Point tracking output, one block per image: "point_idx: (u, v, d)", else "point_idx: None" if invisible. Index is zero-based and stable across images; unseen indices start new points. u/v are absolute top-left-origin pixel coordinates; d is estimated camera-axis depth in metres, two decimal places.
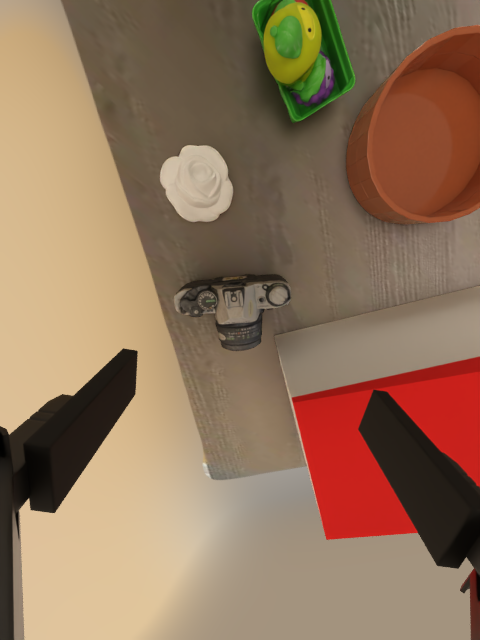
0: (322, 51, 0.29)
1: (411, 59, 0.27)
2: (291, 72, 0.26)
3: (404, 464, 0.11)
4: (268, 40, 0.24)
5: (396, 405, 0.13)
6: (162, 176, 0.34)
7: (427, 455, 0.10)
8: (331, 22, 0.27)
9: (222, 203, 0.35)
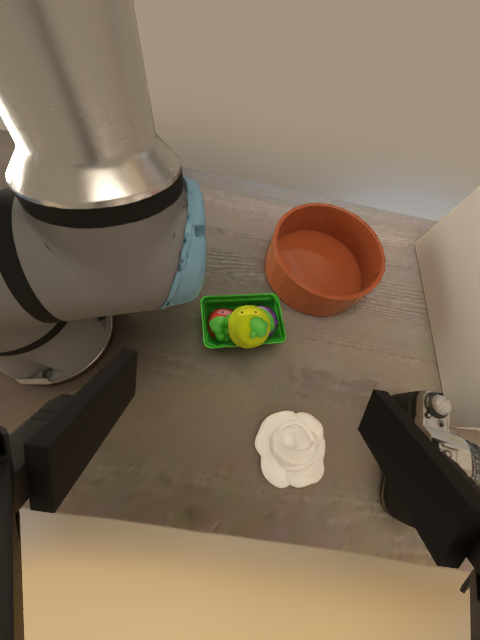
0: None
1: (280, 259, 0.39)
2: (269, 332, 0.32)
3: (404, 464, 0.11)
4: (252, 341, 0.30)
5: (396, 405, 0.13)
6: (276, 483, 0.32)
7: (427, 455, 0.10)
8: (234, 298, 0.38)
9: (316, 429, 0.35)
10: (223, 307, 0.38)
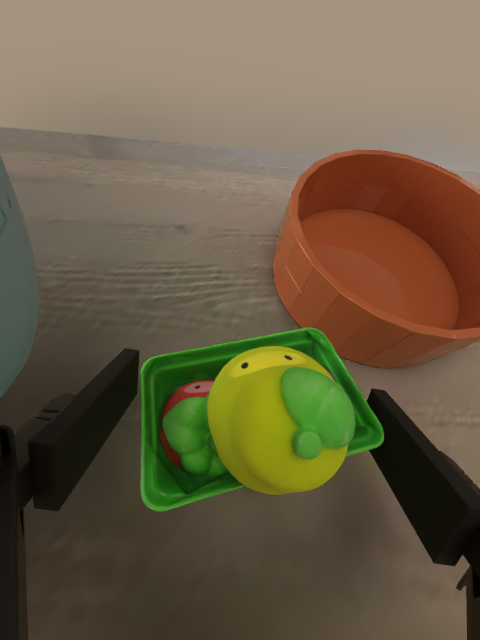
0: None
1: (318, 262, 0.17)
2: None
3: (401, 462, 0.11)
4: (307, 471, 0.07)
5: (394, 404, 0.13)
6: None
7: (424, 453, 0.10)
8: (223, 352, 0.16)
9: None
10: (203, 379, 0.16)
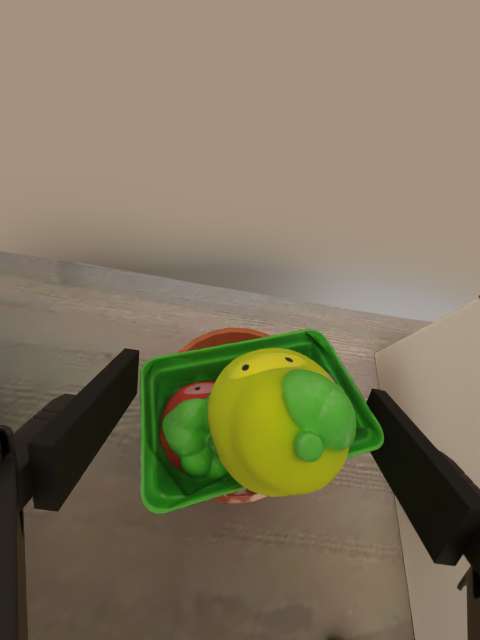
0: None
1: None
2: None
3: (402, 463, 0.11)
4: (308, 473, 0.07)
5: (394, 404, 0.13)
6: None
7: (424, 453, 0.10)
8: (224, 354, 0.16)
9: None
10: (203, 380, 0.16)
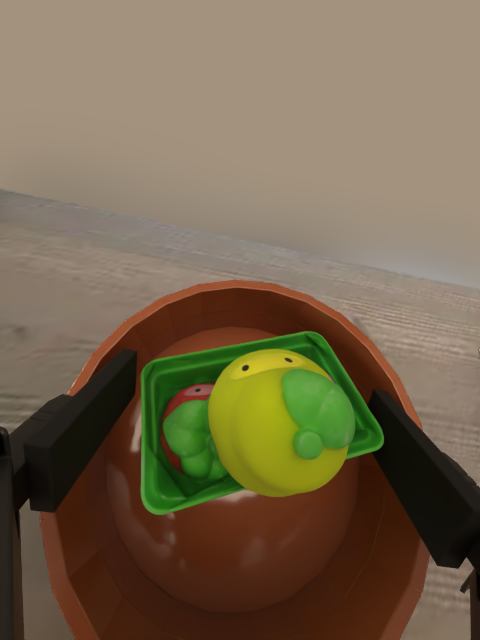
0: None
1: None
2: None
3: (404, 464, 0.11)
4: (308, 472, 0.07)
5: (396, 405, 0.13)
6: None
7: (427, 455, 0.10)
8: (224, 356, 0.16)
9: None
10: (203, 382, 0.16)
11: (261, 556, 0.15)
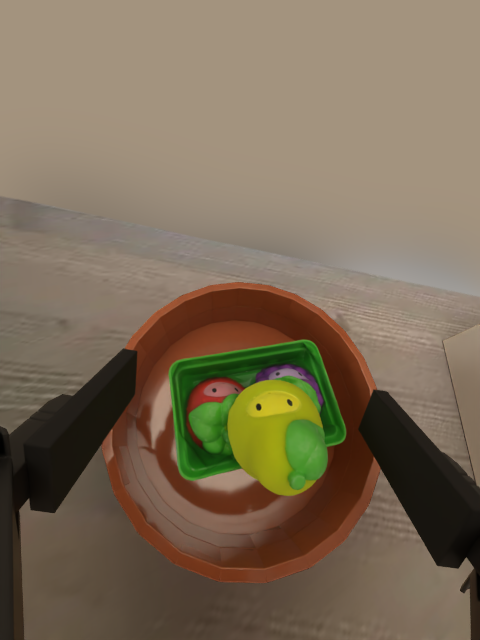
0: (256, 374, 0.20)
1: (110, 443, 0.15)
2: None
3: (404, 464, 0.11)
4: (294, 490, 0.12)
5: (396, 405, 0.13)
6: None
7: (427, 455, 0.10)
8: (234, 357, 0.20)
9: None
10: (215, 374, 0.20)
11: (257, 495, 0.20)
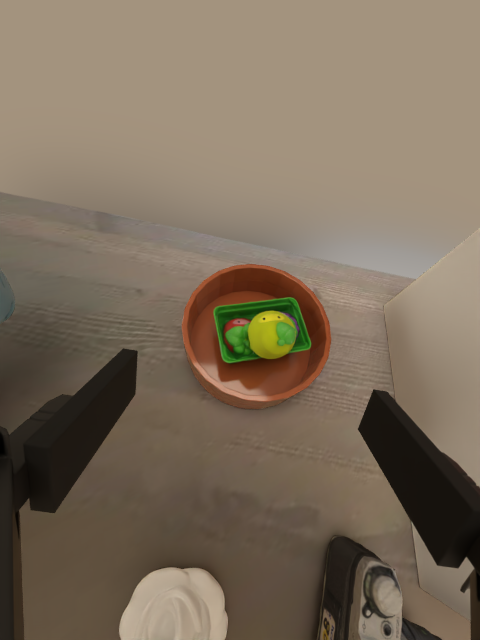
0: None
1: (188, 342, 0.30)
2: (295, 338, 0.29)
3: (404, 464, 0.11)
4: (280, 349, 0.26)
5: (396, 405, 0.13)
6: None
7: (427, 455, 0.10)
8: (248, 306, 0.34)
9: (213, 600, 0.24)
10: (237, 317, 0.35)
11: (262, 386, 0.34)
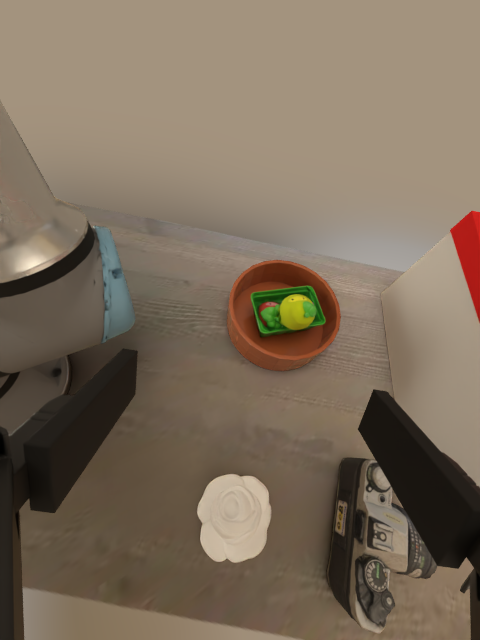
0: None
1: (234, 318, 0.40)
2: None
3: (404, 464, 0.11)
4: (305, 320, 0.36)
5: (396, 405, 0.13)
6: (213, 555, 0.31)
7: (427, 455, 0.10)
8: (276, 292, 0.45)
9: (261, 495, 0.34)
10: (267, 301, 0.45)
11: (287, 354, 0.45)
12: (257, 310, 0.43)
